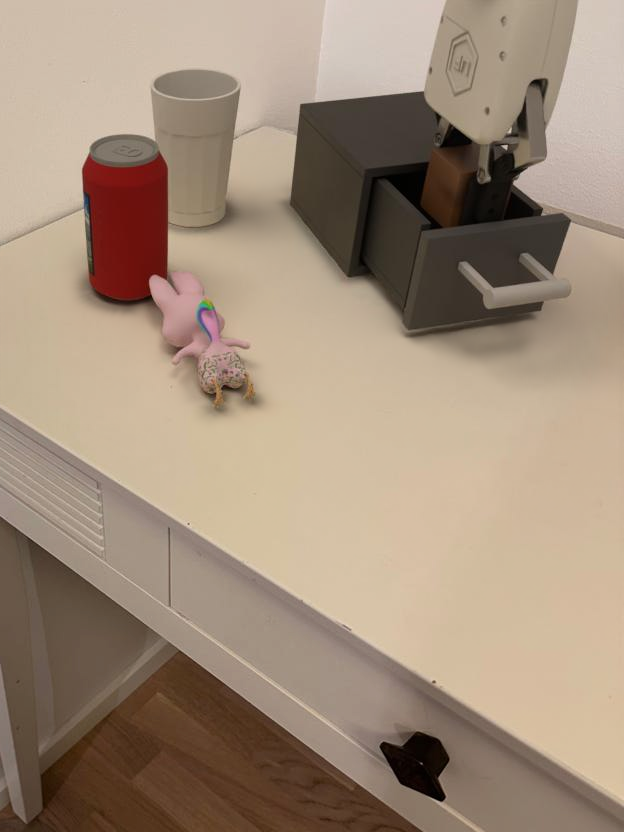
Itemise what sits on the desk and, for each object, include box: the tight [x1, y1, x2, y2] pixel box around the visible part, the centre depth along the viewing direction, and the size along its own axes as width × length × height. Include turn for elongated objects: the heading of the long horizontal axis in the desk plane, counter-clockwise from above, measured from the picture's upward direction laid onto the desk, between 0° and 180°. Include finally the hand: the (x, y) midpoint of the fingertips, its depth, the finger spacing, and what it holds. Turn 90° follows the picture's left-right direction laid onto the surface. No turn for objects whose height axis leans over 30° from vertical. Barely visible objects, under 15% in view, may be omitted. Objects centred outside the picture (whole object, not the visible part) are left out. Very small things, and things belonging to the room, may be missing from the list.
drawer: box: [359, 171, 572, 331], centre depth 70 cm, size 19×11×8 cm, turn 13°
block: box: [420, 144, 515, 228], centre depth 68 cm, size 5×5×5 cm
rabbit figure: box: [149, 270, 257, 410], centre depth 67 cm, size 6×6×15 cm
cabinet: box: [289, 90, 507, 277], centre depth 79 cm, size 15×13×10 cm
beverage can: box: [81, 133, 169, 302], centre depth 72 cm, size 7×7×12 cm
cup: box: [149, 67, 242, 228], centre depth 82 cm, size 8×8×12 cm
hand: (461, 210), depth 69 cm, fingers closed on block, 4 cm apart
